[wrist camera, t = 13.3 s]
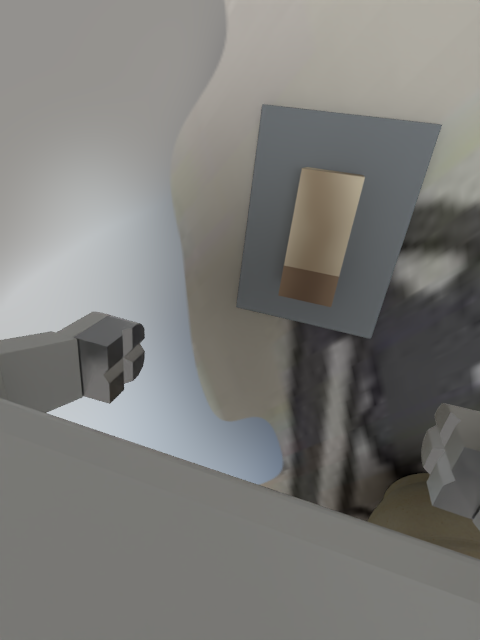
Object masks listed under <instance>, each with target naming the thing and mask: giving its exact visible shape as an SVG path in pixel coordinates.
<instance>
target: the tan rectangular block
mask: <svg viewBox="0 0 480 640" xmlns="http://www.w3.org/2000/svg"><path fill="white" fill-rule="evenodd" d="M364 179H365V177H364V175H359V174H352V173H345V172H339V171H332V170H325V169H318V168H311V167H306V168H302V171H301V176H300V182H299V187H298V192H297V198H296V203H295V209H294V214H293V219H292V225H291V230H290V235H289V241H288V246H287V252H286V257H285V262H284V267H283V272H282V278H281V283H280V289H279V294H278V296H283V297H287V298H292V299H296V300H300V301H305V302H309V303H314V304H318V305H323V306H327V307H331V306H332V302H333V298H334V295H335V291H336V287H337V283H338V279H339V275H340V271H341V267H342V263H343V260H344V256H345V252H346V248H347V244H348V241H349V237H350V233H351V229H352V225H353V221H354V218H355V214H356V210H357V206H358V202H359V199H360V195H361V191H362V187H363V183H364Z"/></svg>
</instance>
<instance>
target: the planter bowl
mask: <svg viewBox="0 0 480 640" xmlns="http://www.w3.org/2000/svg"><path fill="white" fill-rule="evenodd" d="M429 476H430V474H429V473H419V474H413V475H409V476H406V477H403V478H401V479H399V480H397V481H396V482H394V483H393V484H392V485H391V486H390V487H389V488H388V489H387V491H386V492H385V494H384V497H383V501H382V502H381V503H380V504H379V505H378V506H377V507H376V508H375V510H374V511H373V513H372V514H371V515H370V517H369V519H368V521H367V522H370V523H373V524H376V525H379V526H382V527H385V528H388V529H391V530H394V531H397V532H400V533H403V534H405V535H408V536H411V537H414V538H417V539H420V540H423V541H426V542H429V543H432V544H435V545H438V546H441V547H444V548H447V549H450V550H453V551H456V552H459V553H462V554H465V555H468V556H471V557H474V558H477V559H479V560H480V531H479V529H478V528H477V527H476V526H475V524H474V523H473V522H472V521H473V520H472V519H469V518H466V517H463V516H460V515H457V514H455V513H452V512H449V511H446V510H443V509H440V508H437V507H434V506H432V503H431V499H430V495H429V490H428V486H427V480H428V478H429Z"/></svg>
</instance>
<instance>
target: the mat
mask: <svg viewBox="0 0 480 640" xmlns="http://www.w3.org/2000/svg"><path fill="white" fill-rule="evenodd" d="M441 126H442V125H440V124H432V123H423V122H414V121H405V120H396V119H387V118H379V117H370V116H361V115H352V114H343V113H335V112H326V111H317V110H308V109H299V108H290V107H282V106H273V105H264V104H262V112H261V120H260V128H259V135H258V143H257V151H256V158H255V166H254V174H253V182H252V189H251V197H250V205H249V212H248V220H247V228H246V236H245V243H244V251H243V259H242V266H241V274H240V282H239V290H238V297H237V305H236V307H238V308H242V309H247V310H251V311H255V312H259V313H264V314H268V315H272V316H276V317H281V318H285V319H289V320H293V321H298V322H302V323H306V324H310V325H314V326H319V327H323V328H327V329H331V330H336V331H340V332H344V333H348V334H353V335H357V336H361V337H365V338H370V339H371V337H372V334H373V331H374V328H375V325H376V322H377V319H378V316H379V313H380V310H381V307H382V304H383V301H384V298H385V295H386V292H387V289H388V286H389V283H390V280H391V277H392V274H393V271H394V268H395V265H396V262H397V259H398V256H399V253H400V250H401V247H402V244H403V241H404V238H405V235H406V232H407V229H408V226H409V223H410V220H411V217H412V214H413V211H414V208H415V205H416V202H417V199H418V195H419V192H420V189H421V186H422V183H423V180H424V177H425V174H426V171H427V168H428V165H429V162H430V159H431V156H432V153H433V150H434V147H435V144H436V141H437V138H438V135H439V132H440V129H441ZM306 167H311V168H318V169H325V170H332V171H339V172H345V173H352V174H359V175H364V177H365V179H364V183H363V187H362V191H361V195H360V199H359V202H358V206H357V210H356V214H355V218H354V221H353V225H352V229H351V233H350V237H349V241H348V244H347V248H346V252H345V256H344V260H343V263H342V267H341V271H340V275H339V279H338V283H337V287H336V291H335V295H334V298H333V302H332V306H331V307H327V306H323V305H318V304H314V303H309V302H305V301H300V300H296V299H292V298H287V297H283V296H278V294H279V289H280V283H281V278H282V272H283V267H284V262H285V257H286V252H287V246H288V241H289V235H290V230H291V225H292V219H293V214H294V209H295V203H296V198H297V192H298V187H299V182H300V176H301V171H302V168H306Z"/></svg>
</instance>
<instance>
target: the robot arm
mask: <svg viewBox="0 0 480 640" xmlns="http://www.w3.org/2000/svg"><path fill="white" fill-rule="evenodd" d="M144 338H145V337H144V327H143V326H142V324H140V323H136V322H133V321H129V320H125V319H121V318H118V317H115V316H111V315H108V314H104V313H100V312H92V313H90V314H88V315H86V316H84V317H83V318H81V319H79V320H77V321H76V322H74V323H72V324H71V325H69V326H67V327H65V328H64V329H62V330H60V331H58V332H57V333H55V332H46V333H40V334H34V335H28V336H22V337H16V338H10V339H4V340H0V640H480V560H479V559H477V558H474V557H471V556H468V555H465V554H462V553H459V552H456V551H453V550H450V549H447V548H444V547H441V546H438V545H435V544H432V543H429V542H426V541H423V540H420V539H417V538H414V537H411V536H408V535H405V534H403V533H400V532H397V531H394V530H391V529H388V528H385V527H382V526H379V525H376V524H373V523H370V522H367V521H364V520H361V519H358V518H355V517H352V516H349V515H346V514H343V513H340V512H337V511H334V510H331V509H328V508H326V507H323V506H320V505H317V504H314V503H311V502H308V501H305V500H302V499H299V498H296V497H293V496H290V495H287V494H284V493H281V492H278V491H275V490H272V489H269V488H266V487H263V486H260V485H257V484H254V483H251V482H248V481H245V480H242V479H239V478H236V477H233V476H230V475H227V474H225V473H221V472H219V471H216V470H213V469H210V468H207V467H204V466H201V465H198V464H195V463H192V462H189V461H186V460H183V459H180V458H177V457H174V456H171V455H168V454H165V453H162V452H159V451H156V450H153V449H151V448H148V447H145V446H141V445H138V444H135V443H133V442H130V441H127V440H124V439H121V438H118V437H115V436H112V435H109V434H106V433H103V432H100V431H97V430H94V429H91V428H88V427H85V426H82V425H79V424H77V423H73V422H71V421H68V420H64V419H62V418H59V417H56V416H53V415H50V414H47V413H46V412H49V411H51V410H54V409H56V408H58V407H61V406H63V405H65V404H68V403H70V402H72V401H74V400H77V399H79V398H82V396H85V397H89V398H92V399H96V400H99V401H103V402H106V403H111V402H112V401H113V400H114V399H115V398H116V397H117V396H118V395H119V394H120V393H121V392H122V391H123V390H124V384H125V383H128V382H131V381H133V380H134V379H135V378H136V377H137V376H138V375H139V373H140V371H141V369H142V367H143V363H144V352H145V351H144V350H143V348H142V346H141V345H140V343H141V342H142V340H143V339H144ZM434 417H435V420H436V423H437V425H436V426H434V427H432V428H430V429H428V430H427V433H426V435H425V437H424V440H423V445H422V450H421V458H422V464H423V468H424V469H425V470H426V471H427V472H428V473H429V474H430V476H429V478H428V480H427V486H428V490H429V495H430V499H431V503H432V506H434V507H437V508H440V509H443V510H446V511H449V512H452V513H455V514H457V515H460V516H463V517H466V518H469V519H472V520H473V521H472V522H473V523H474V524H475V526H476V527H477V528H478V529H479V531H480V412H479V411H474V410H470V409H466V408H462V407H457V406H453V405H449V404H444V403H442V404H441V405H440V407H439V408H438V410H437V412H436V414H435V416H434Z"/></svg>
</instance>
